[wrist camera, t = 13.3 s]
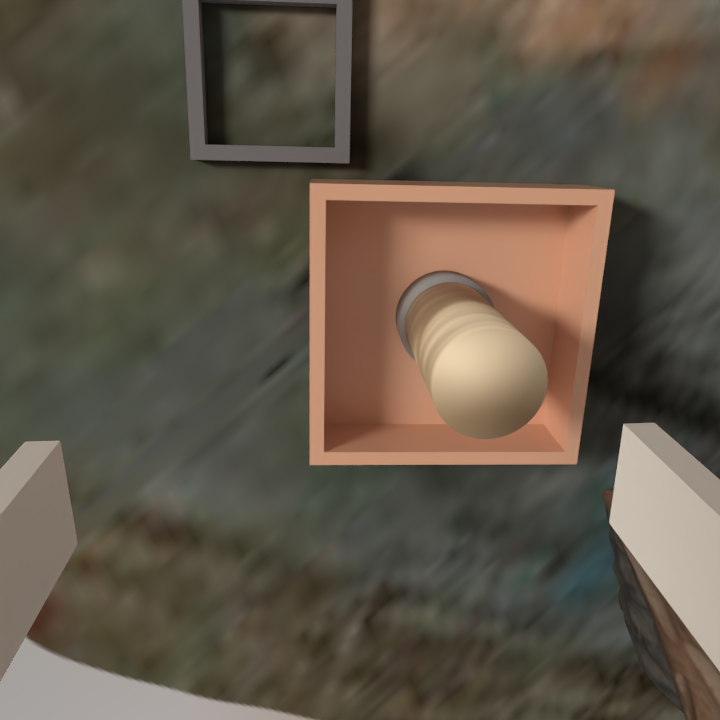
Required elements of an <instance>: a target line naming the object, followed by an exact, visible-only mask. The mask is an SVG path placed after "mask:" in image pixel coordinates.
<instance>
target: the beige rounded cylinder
mask: <svg viewBox="0 0 720 720" xmlns="http://www.w3.org/2000/svg"><path fill="white" fill-rule="evenodd" d="M396 327H397V330H398V334H399V336H400V339H401V341H402V344H403V346H404V348H405V350H406V351H407V353H408V354H409V355H410V356H411V358H412V359H414V360H415V361H416V363H417V365H418V368H419V370H420V372H421V375H422V377H423V379H424V382H425V384H426V387H427V389H428V391H429V394H430V396H431V398H432V401H433V403H434V405H435V408H436V410H437V412H438V414H439V415H440V417H441V418H442V420H443V421H444V422H445V423H446V424H447V425H448V426H449V427H450V428H452V429H453V430H455V431H456V432H458V433H460V434H462V435H464V436H468V437H471V438H476V439H495V438H500V437H503V436H507V435H509V434H511V433H514V432H515V431H517V430H519V429H520V428H522V427H523V426H524V425H526V424H527V423H528V422H529V421H530V420H531V419H532V418H533V417H534V416H535V414H536V413H537V412H538V410H539V409H540V407H541V405H542V403H543V401H544V398H545V395H546V391H547V385H548V376H547V369H546V365H545V362H544V360H543V358H542V356H541V354H540V352H539V351H538V350H537V348H536V347H535V346H534V345H533V344H532V343H531V342H530V341H529V340H528V339H527V338H526V337H524V336H523V335H522V334H521V333H520V332H519V331H518V330H517V329H516V328H515V327H514V326H513V325H512V324H511V323H510V322H509V321H508V320H507V319H506V318H504V317H503V316H502V315H501V314H500V313H499V312H498V311H497V310H496V309H495V308H494V305H493V303H492V301H491V299H490V297H489V296H488V295H487V293H486V292H485V291H484V290H483V289H482V288H481V287H480V286H479V285H477V284H476V283H475V282H474V281H473V280H472V279H470V278H469V277H467V276H465V275H463V274H461V273H458V272H454V271H447V270H442V271H434V272H430V273H427V274H425V275H423V276H421V277H419V278H418V279H416V280H415V281H413V282H412V283H411V284H410V285H409V286H408V287H407V288H406V290H405V291H404V292H403V294H402V296H401V298H400V300H399V302H398V305H397V309H396Z"/></svg>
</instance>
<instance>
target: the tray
mask: <svg viewBox="0 0 720 720" xmlns="http://www.w3.org/2000/svg"><path fill="white" fill-rule="evenodd" d="M614 193H615V190H613V189H607V188H600V187H594V186H587V185H577V184H532V183H486V182H441V181H396V180H350V179H311V181H310V465H483V464H577V459H578V452H579V445H580V438H581V431H582V423H583V416H584V409H585V402H586V395H587V387H588V380H589V373H590V366H591V359H592V351H593V344H594V337H595V330H596V323H597V315H598V308H599V301H600V294H601V287H602V280H603V272H604V265H605V258H606V251H607V244H608V236H609V229H610V222H611V215H612V208H613V200H614ZM442 270H447V271H454V272H458V273H461V274H463V275H465V276H467V277H469V278H470V279H472V280H473V281H474V282H475V283H476V284H477V285H479V286H480V287H481V288H482V289H483V290H484V291H485V292H486V293H487V295H488V296H489V297H490V299H491V301H492V303H493V305H494V308H495V309H496V310H497V311H498V312H499V313H500V314H501V315H502V316H503V317H504V318H506V319H507V320H508V321H509V322H510V323H511V324H512V325H513V326H514V327H515V328H516V329H517V330H518V331H519V332H520V333H521V334H522V335H523V336H524V337H526V338H527V339H528V340H529V341H530V342H531V343H532V344H533V345H534V346H535V347H536V348H537V350H538V351H539V352H540V354H541V356H542V358H543V360H544V362H545V365H546V369H547V376H548V385H547V391H546V395H545V398H544V401H543V403H542V405H541V407H540V409H539V410H538V412H537V413H536V414H535V416H534V417H533V418H532V419H531V420H530V421H529V422H528V423H527V424H526V425H524V426H523V427H522V428H520V429H519V430H517V431H515V432H514V433H511V434H509V435H507V436H503V437H500V438H495V439H476V438H471V437H468V436H464V435H462V434H460V433H458V432H456V431H455V430H453V429H452V428H450V427H449V426H448V425H447V424H446V423H445V422H444V421H443V420H442V418H441V417H440V415H439V414H438V412H437V410H436V408H435V405H434V403H433V401H432V398H431V396H430V394H429V391H428V389H427V387H426V384H425V382H424V379H423V377H422V375H421V372H420V370H419V368H418V365H417V363H416V361H415V360H414V359H412V358H411V356H410V355H409V354H408V353H407V351H406V350H405V348H404V346H403V344H402V341H401V339H400V336H399V334H398V330H397V327H396V309H397V305H398V302H399V300H400V298H401V296H402V294H403V292H404V291H405V290H406V288H407V287H408V286H409V285H410V284H411V283H412V282H413V281H415V280H416V279H418V278H419V277H421V276H423V275H425V274H427V273H430V272H434V271H442Z"/></svg>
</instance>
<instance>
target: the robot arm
mask: <svg viewBox="0 0 720 720" xmlns="http://www.w3.org/2000/svg"><path fill="white" fill-rule="evenodd" d="M609 523H610V525H611V526H612V528H613V529H614V530H615V532H616V533H617V534H618V536H619V537H620V538H621V540H622V541H623V542H624V544H625V545H626V546H627V548H628V549H629V550H630V552H631V553H632V554H633V556H634V557H635V558H636V560H637V561H638V562H639V564H640V565H641V567H642V568H643V569H644V571H645V572H646V573H647V575H648V576H649V577H650V579H651V580H652V581H653V583H654V584H655V585H656V587H657V588H658V589H659V591H660V592H661V593H662V595H663V596H664V597H665V599H666V600H667V601H668V603H669V604H670V606H671V607H672V608H673V610H674V611H675V612H676V614H677V615H678V616H679V618H680V619H681V620H682V622H683V623H684V624H685V626H686V627H687V628H688V630H689V631H690V632H691V634H692V635H693V636H694V638H695V639H696V640H697V642H698V643H699V645H700V646H701V647H702V649H703V650H704V651H705V653H706V654H707V655H708V657H709V658H710V659H711V661H712V662H713V663H714V665H715V666H716V667H717V669H718V670H719V671H720V479H718V478H717V477H716V476H715V475H714V474H713V473H712V472H710V471H709V470H708V469H707V468H706V467H705V466H704V465H702V464H701V463H700V462H699V461H698V460H697V459H696V458H694V457H693V456H692V455H691V454H690V453H689V452H687V451H686V450H685V449H684V448H683V447H682V446H681V445H679V444H678V443H677V442H676V441H675V440H674V439H673V438H671V437H670V436H669V435H668V434H667V433H666V432H665V431H663V430H662V429H661V428H660V427H659V426H658V425H657V424H655V423H630V424H623V430H622V437H621V444H620V451H619V458H618V465H617V472H616V478H615V485H614V492H613V499H612V506H611V513H610V520H609ZM77 544H78V543H77V537H76V531H75V525H74V520H73V514H72V508H71V502H70V496H69V490H68V484H67V478H66V473H65V467H64V461H63V455H62V449H61V443H60V441H35V442H25V443H24V444H23V445H22V446H21V447H20V448H19V449H18V450H17V451H16V453H15V454H14V455H13V456H12V457H11V458H10V459H9V460H8V461H7V462H6V464H5V465H4V466H3V467H2V468H1V469H0V681H1V679H2V677H3V675H4V674H5V672H6V670H7V668H8V667H9V665H10V663H11V661H12V660H13V658H14V656H15V654H16V653H17V651H18V649H19V647H20V645H21V644H22V642H23V640H24V638H25V637H26V635H27V633H28V631H29V629H30V628H31V626H32V624H33V622H34V621H35V619H36V617H37V615H38V613H39V612H40V610H41V608H42V606H43V605H44V603H45V601H46V599H47V598H48V596H49V594H50V592H51V590H52V589H53V587H54V585H55V583H56V582H57V580H58V578H59V576H60V574H61V573H62V571H63V569H64V567H65V566H66V564H67V562H68V560H69V558H70V557H71V555H72V553H73V551H74V550H75V548H76V546H77Z"/></svg>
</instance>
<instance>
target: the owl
mask: <svg viewBox="0 0 720 720" xmlns="http://www.w3.org/2000/svg"><path fill="white" fill-rule="evenodd" d="M613 492H614V489H611V490H606V491H604V492H603V499H604V501H605V505H606V514H607V517H608V522H609V520H610V513H611V506H612V499H613ZM609 527H610V533H609V537H610V542H611V545H612V547H613V550H614V555H615V560H614V564H613V569H614V572H615V574H616V576H617V578H618V580H619V584H620V591H619V603H620V607H621V609H622V611H623V613H624V619H625V623H626V626H627V628H628V631H629V634H630V636H631V639H632V642H633V645H634V647H635V650H636V653H637V656H638V659H639V661H640V664H641V666H642V668H643V670H644V671H645V673H646V674H647V676H648V677H649V678H650V679H651V681H652V682H653V683H654V684H655V685H656V686H657V687H658V689H659V690H660V691H661V692H662V693H663V694H664V695H665V696H666V697H667V698H668V699H669V700H670V701H671V702H672V703H674V704H675V705H676V706H677V707H678V708H679V709H680V710H681V711H682V712H683V713H684V714H685V718H686V720H720V671H719V670H718V669H717V667H716V666H715V665H714V663H713V662H712V661H711V659H710V658H709V657H708V655H707V654H706V653H705V651H704V650H703V649H702V647H701V646H700V645H699V643H698V642H697V640H696V639H695V638H694V636H693V635H692V634H691V632H690V631H689V630H688V628H687V627H686V626H685V624H684V623H683V622H682V620H681V619H680V618H679V616H678V615H677V614H676V612H675V611H674V610H673V608H672V607H671V606H670V604H669V603H668V601H667V600H666V599H665V597H664V596H663V595H662V593H661V592H660V591H659V589H658V588H657V587H656V585H655V584H654V583H653V581H652V580H651V579H650V577H649V576H648V575H647V573H646V572H645V571H644V569H643V568H642V567H641V565H640V564H639V562H638V561H637V560H636V558H635V557H634V556H633V554H632V553H631V552H630V550H629V549H628V548H627V546H626V545H625V544H624V542H623V541H622V540H621V538H620V537H619V536H618V534H617V533H616V532H615V530H614V529H613V528H612V526H611V525H610V523H609Z"/></svg>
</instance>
